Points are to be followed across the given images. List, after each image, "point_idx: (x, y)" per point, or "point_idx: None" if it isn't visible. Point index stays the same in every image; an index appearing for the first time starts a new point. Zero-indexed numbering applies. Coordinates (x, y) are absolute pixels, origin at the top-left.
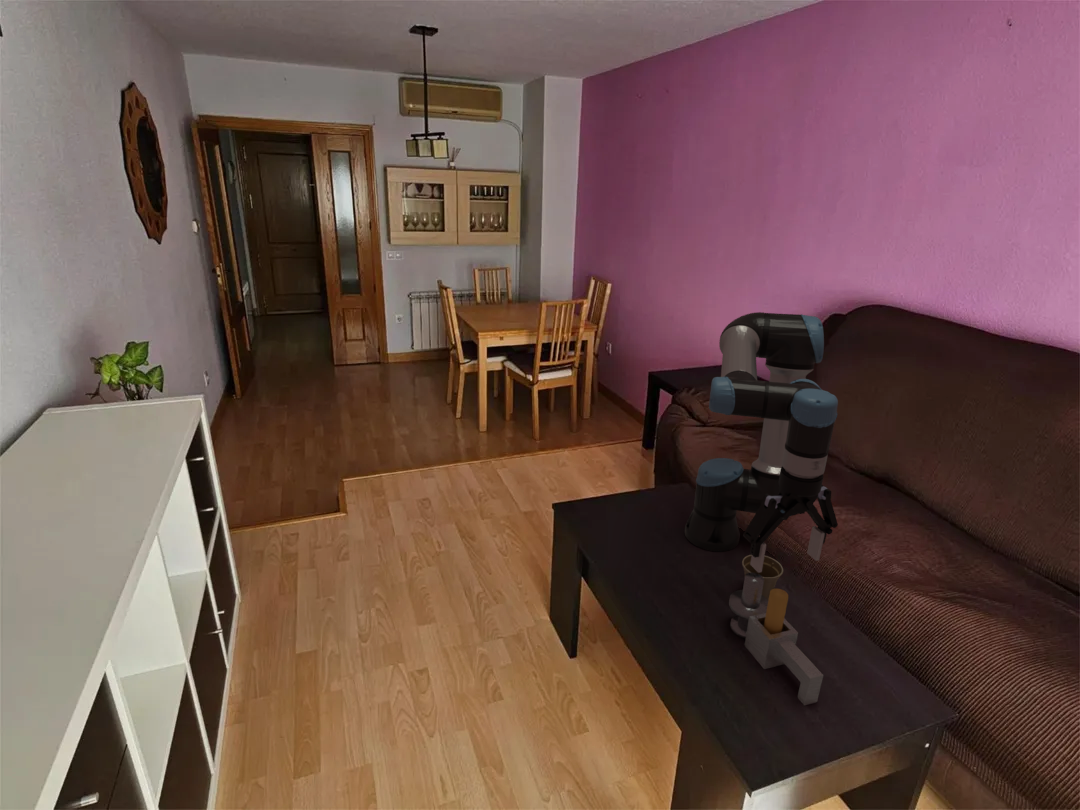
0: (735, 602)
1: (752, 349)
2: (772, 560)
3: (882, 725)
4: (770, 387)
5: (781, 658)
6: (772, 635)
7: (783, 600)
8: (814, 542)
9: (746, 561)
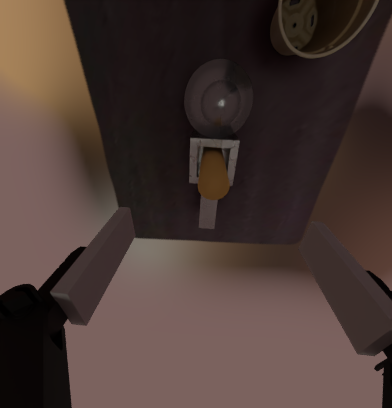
0: (194, 92)
1: None
2: None
3: (243, 237)
4: None
5: None
6: (197, 178)
7: (209, 199)
8: (333, 278)
9: None
